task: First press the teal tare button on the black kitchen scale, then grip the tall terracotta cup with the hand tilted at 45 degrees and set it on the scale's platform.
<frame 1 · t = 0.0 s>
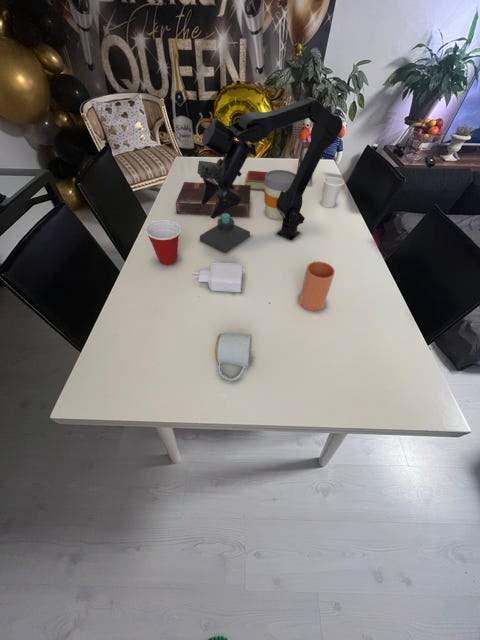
hand: (207, 210, 92), 15 cm above the table, tool tilted 35°, fingers open, 9 cm apart
hardcover book: (268, 185, 141), on the table
hardback book: (215, 205, 126), on the table
dixie cup: (327, 204, 130), on the table
coffee box: (303, 181, 145), on the table
ceramic mug: (234, 363, 73), on the table
cup: (311, 302, 87), on the table
charger: (217, 282, 93), on the table
scale: (225, 238, 109), on the table
plastic cup: (168, 260, 100), on the table
tare button: (225, 218, 109), point 5 cm above the table, slide at 0.1 cm
reusable coffee cup: (276, 214, 123), on the table
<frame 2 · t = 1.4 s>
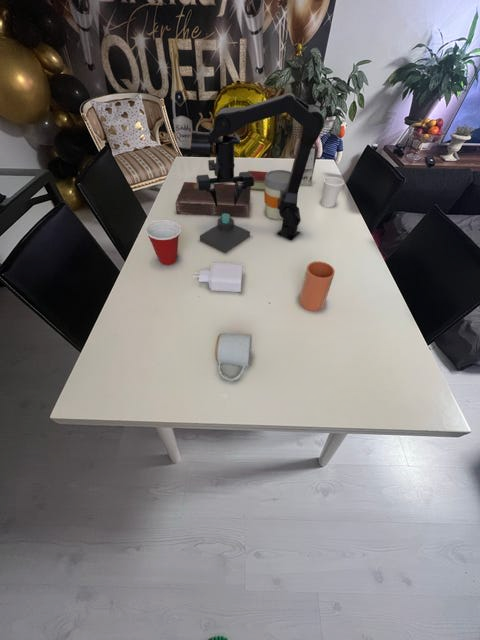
hand: (225, 205, 105), 10 cm above the table, tool pointing down, fingers open, 6 cm apart
nothing on the table moved.
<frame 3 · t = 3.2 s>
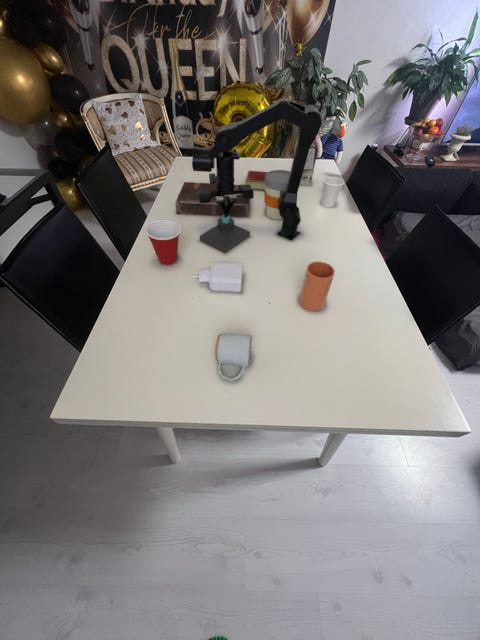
hand: (225, 216, 109), 6 cm above the table, tool pointing down, fingers closed, pressing on tare button
tare button: (225, 219, 110), point 4 cm above the table, slide at -0.4 cm, touching gripper
everything else where it was.
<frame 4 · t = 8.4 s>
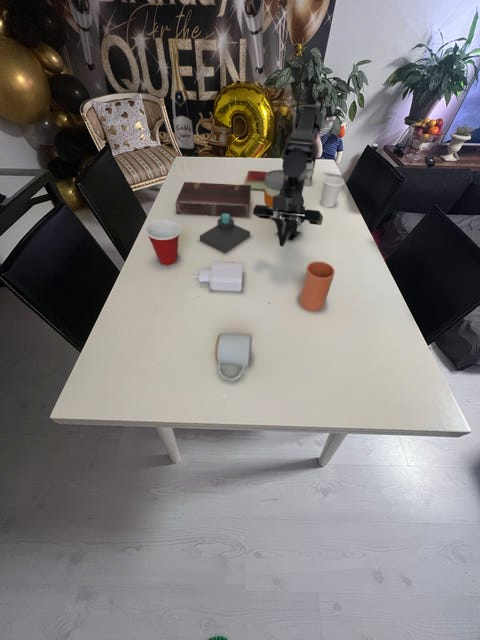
hand: (281, 246, 84), 13 cm above the table, tool tilted 35°, fingers closed
tare button: (225, 218, 109), point 5 cm above the table, slide at 0.1 cm
everything else where it was.
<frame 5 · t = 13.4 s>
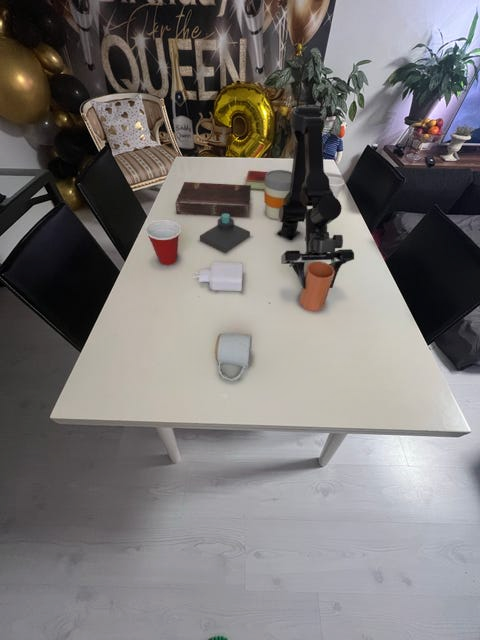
hand: (317, 288, 82), 7 cm above the table, tool tilted 45°, fingers closed on cup, 7 cm apart
cup: (311, 302, 87), on the table, touching gripper
everything else where it was.
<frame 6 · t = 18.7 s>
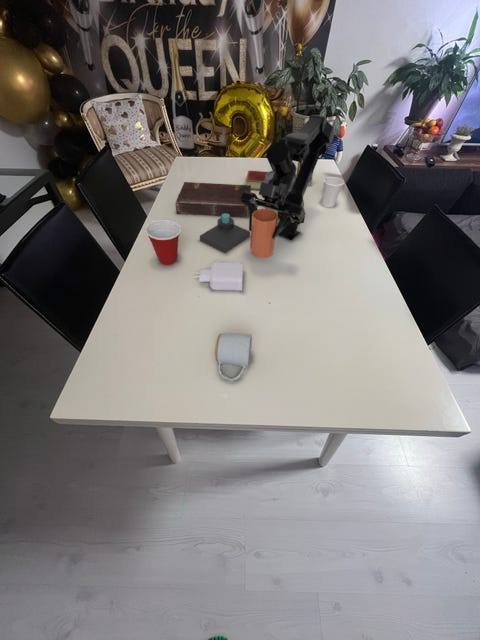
hand: (261, 234, 87), 13 cm above the table, tool tilted 45°, fingers closed on cup, 7 cm apart
cup: (261, 251, 93), point 7 cm above the table, touching gripper
everything else where it was.
when the fingers open (9 cm above the table, at t = 23.8 s): cup stays where it is, resting on scale.
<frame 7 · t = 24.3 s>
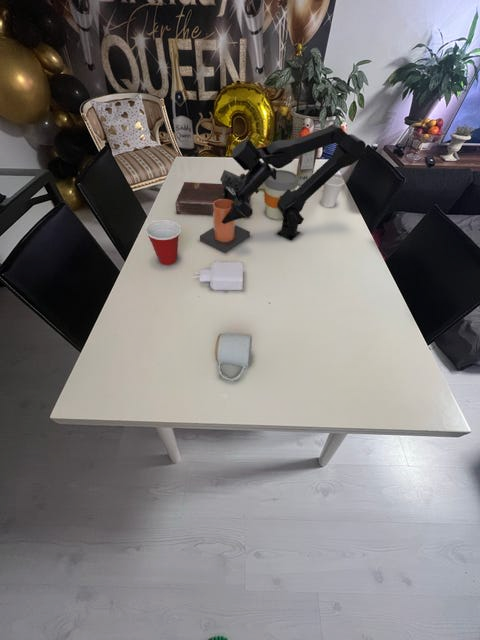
hand: (220, 215, 100), 10 cm above the table, tool tilted 45°, fingers open, 9 cm apart
cup: (224, 236, 106), point 2 cm above the table, touching scale
everything else where it was.
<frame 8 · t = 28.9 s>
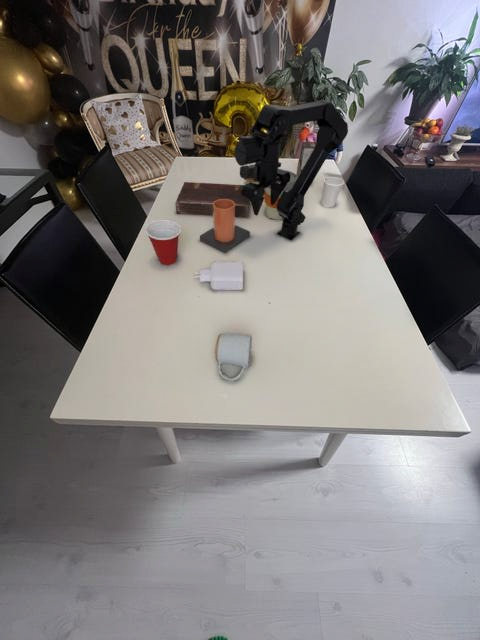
hand: (264, 209, 98), 13 cm above the table, tool pointing down, fingers open, 9 cm apart
nothing on the table moved.
at the end: tare button pushed in 1.1 cm at the most during the clip, back to where it started at the end; cup inside the target area on the scale (0.9 cm from its centre), point 2.2 cm above the scale's base; cup tilted 0° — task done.
